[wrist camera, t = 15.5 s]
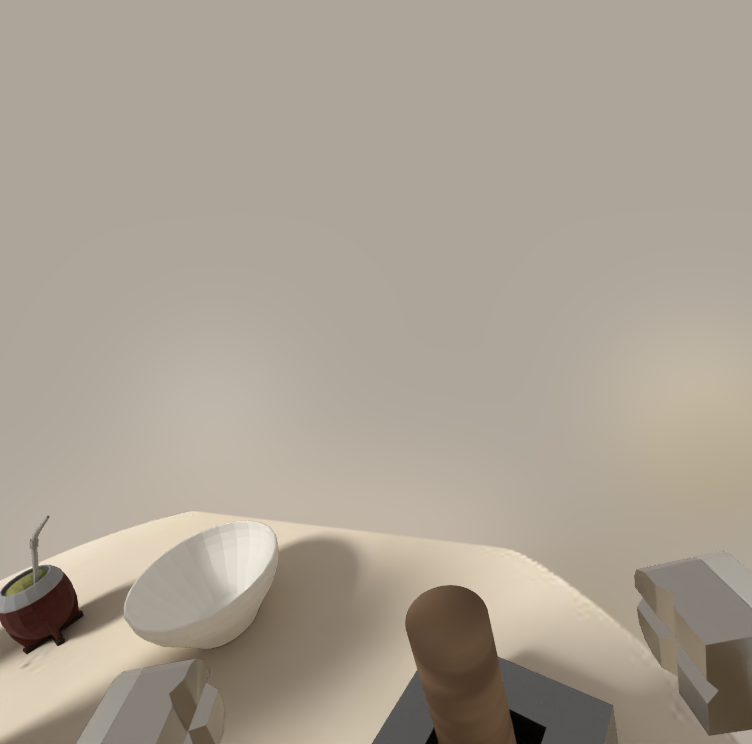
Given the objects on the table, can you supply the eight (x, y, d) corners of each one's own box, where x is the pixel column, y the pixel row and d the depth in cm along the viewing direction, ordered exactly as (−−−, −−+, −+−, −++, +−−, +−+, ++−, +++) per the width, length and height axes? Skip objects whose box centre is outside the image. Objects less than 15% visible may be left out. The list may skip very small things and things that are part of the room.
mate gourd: (16, 642, 54) (-46, 541, 50) (86, 597, 59) (36, 501, 55) (27, 672, 49) (-40, 561, 45) (103, 619, 54) (49, 515, 50)
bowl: (310, 558, 55) (294, 511, 53) (268, 682, 40) (244, 622, 38) (195, 574, 58) (176, 530, 56) (115, 696, 43) (85, 641, 41)
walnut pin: (445, 821, 27) (389, 634, 23) (476, 751, 30) (431, 576, 26) (514, 873, 24) (464, 670, 20) (540, 790, 28) (502, 600, 23)
